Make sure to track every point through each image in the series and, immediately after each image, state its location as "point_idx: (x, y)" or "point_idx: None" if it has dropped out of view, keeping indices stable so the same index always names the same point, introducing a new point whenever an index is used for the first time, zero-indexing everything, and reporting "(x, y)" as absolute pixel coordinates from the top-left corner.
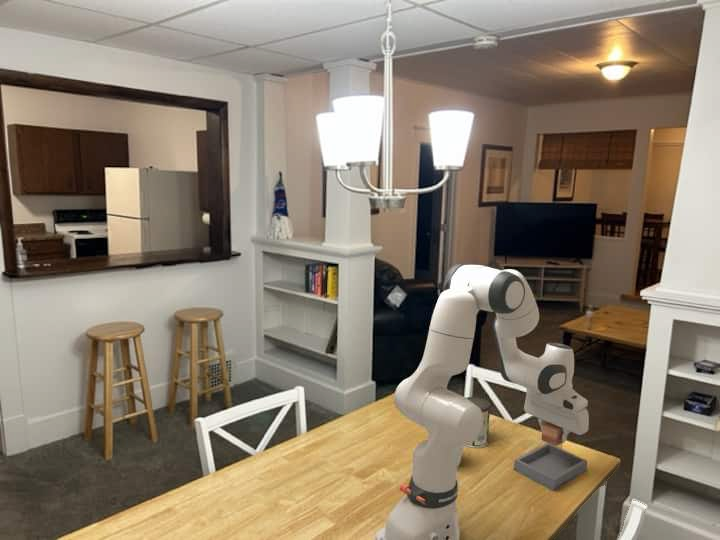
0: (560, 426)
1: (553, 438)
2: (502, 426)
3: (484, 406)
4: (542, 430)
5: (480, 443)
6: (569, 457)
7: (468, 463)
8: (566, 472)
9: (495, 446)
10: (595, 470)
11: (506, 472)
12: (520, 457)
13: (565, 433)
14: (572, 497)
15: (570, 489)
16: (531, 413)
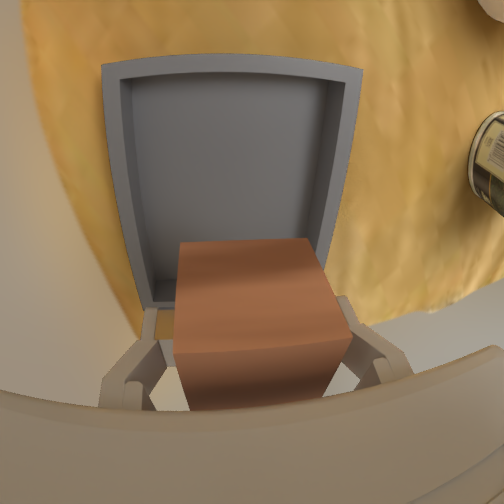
0: (152, 418)
1: (205, 280)
2: (448, 280)
3: None
4: (330, 295)
5: (488, 137)
6: None
7: (463, 10)
8: (115, 175)
9: (448, 174)
10: (138, 301)
11: (349, 26)
12: (352, 110)
13: (118, 369)
14: (55, 99)
15: (91, 135)
16: (473, 367)
